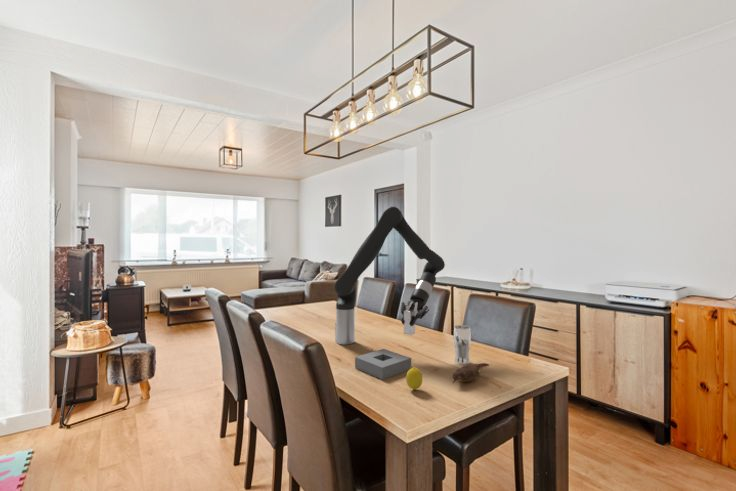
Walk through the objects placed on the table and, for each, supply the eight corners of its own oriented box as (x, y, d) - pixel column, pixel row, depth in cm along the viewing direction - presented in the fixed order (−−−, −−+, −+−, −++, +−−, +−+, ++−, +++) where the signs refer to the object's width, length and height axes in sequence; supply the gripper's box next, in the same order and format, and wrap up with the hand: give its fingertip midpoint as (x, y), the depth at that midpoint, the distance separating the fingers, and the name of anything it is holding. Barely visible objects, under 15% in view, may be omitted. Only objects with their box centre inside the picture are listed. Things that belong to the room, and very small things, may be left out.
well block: (355, 367, 145) (355, 356, 145) (383, 359, 156) (383, 348, 156) (382, 379, 133) (382, 367, 133) (411, 369, 144) (411, 358, 144)
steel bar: (403, 333, 156) (403, 310, 156) (408, 332, 159) (408, 309, 158) (410, 335, 154) (410, 312, 153) (414, 333, 156) (415, 310, 156)
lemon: (404, 387, 126) (404, 364, 126) (420, 386, 127) (420, 364, 127) (407, 393, 121) (407, 370, 121) (424, 393, 121) (424, 369, 121)
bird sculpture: (494, 372, 140) (494, 360, 139) (460, 392, 122) (460, 377, 122) (479, 368, 144) (479, 356, 144) (443, 386, 127) (443, 372, 127)
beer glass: (471, 360, 153) (472, 326, 153) (469, 366, 147) (469, 329, 146) (455, 358, 156) (455, 324, 156) (452, 363, 150) (452, 328, 149)
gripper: (405, 286, 166) (389, 316, 157) (432, 289, 157) (417, 321, 148) (411, 296, 170) (396, 326, 161) (438, 299, 161) (424, 332, 152)
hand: (406, 324), depth 154 cm, fingers closed on steel bar, 3 cm apart
